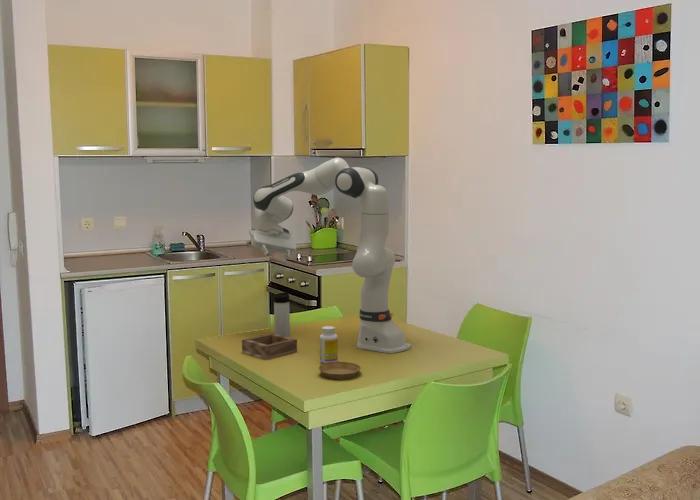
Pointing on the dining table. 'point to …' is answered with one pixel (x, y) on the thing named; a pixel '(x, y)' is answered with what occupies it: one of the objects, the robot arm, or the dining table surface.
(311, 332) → the dining table surface
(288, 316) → the travel mug
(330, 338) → the supplement bottle
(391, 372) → the dining table surface
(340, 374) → the plant saucer
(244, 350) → the square wooden tray
